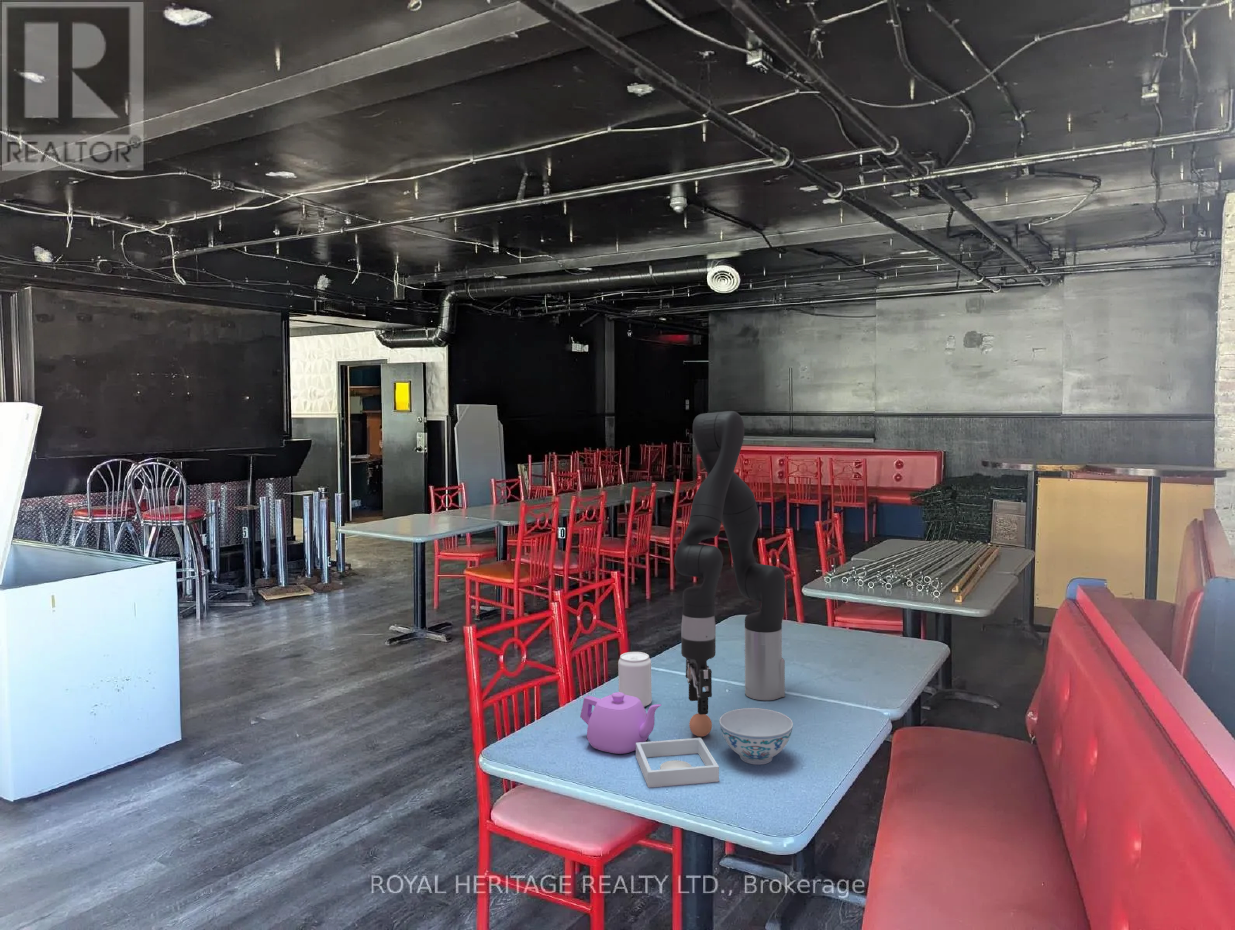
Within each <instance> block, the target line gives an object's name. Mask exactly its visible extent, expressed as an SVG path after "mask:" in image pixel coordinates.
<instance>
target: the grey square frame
mask: <svg viewBox="0 0 1235 930" xmlns="http://www.w3.org/2000/svg"><path fill="white" fill-rule="evenodd" d="M695 754H697V755H699V757H700V759H701V760H702V762H703V764H704V765H699V766H697V765H696V766H692V767H685V768H673V769H661V770H660V769H652V768H651V765H650V764H649V762H648V759H647V758H657V757H669V756H671V757H672V756H681V755H695ZM635 758H636V760H637V763H638V765H639V767H640V771H641V773H642V775H643V778H644V780H645V782H646V786H647V788H659V787H662V788H663V787H672V786H683V785H684V786H685V785H695V784H706V783H707V784H708V783H717V782H720V766H719V764H718V763H717V761H716V760H715V758H714V757H713V755H712V753H711V752H710V750H709V749H708V747H707V745H706V744H705V742H704V740H703V739H702V737H693V738H681V739H680V738H679V739H667V740H653V741H646V742H639V743H636V750H635Z"/></svg>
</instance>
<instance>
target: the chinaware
mask: <svg viewBox="0 0 1235 930" xmlns="http://www.w3.org/2000/svg"><path fill="white" fill-rule="evenodd" d="M718 722H719V727H720V731H721V734H722V736H723V739H724V740H725V742H726V744H727V745H728V746H729V748H730V749H731V750H732V751H734V752H735V753H736V754H737V755H739V758H740V760H741V761H743V762H744V763H746V764H749V765H750V764H751V765H765V764H768V763H769V764H770V762H772V761H773V757H775V756H777V755H778V754H780V752H782V751H783V750H784V748H785V747H786V745H787V744H788V742H789V740H790V738H791V736H792V732H793V728H794V722H793V720H792V719H791V718H790V717H789V716H787V715H786V714H784V713H782V712H779V711H776V710H773V709H766V708H758V707H745V708H743V707H742V708H738V709H733V710H729V711H727V712H725V713H723V714H722V715H721V716H720V718H719V720H718Z"/></svg>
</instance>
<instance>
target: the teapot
mask: <svg viewBox="0 0 1235 930" xmlns="http://www.w3.org/2000/svg"><path fill="white" fill-rule="evenodd" d="M593 706H594V707H593ZM661 706H662V704H660V703H659V704H652V705H650V706H649V708H648V710H646V709H645V707H644V706H643V704H642V703H641V701H640V699H638V698H637V697H633V696H629V695H625V694H624V693H621V692H619V691H618V692H617V691H616V692H612V694H609V695H605V696H603V697H602V698H599V697H595V696H592V695H588V694H587V695H586V696H585V697H584V698H583V701H582V706H581V707H582V708H581V712H580V719H582V720H583V721H584V722H585V724H586V725H587V728H586V739H587V741H588V742H589V744H590V746H592V748H593V749H596V750H599V751H601V752H606V753H609V754H610V753H611V754H617V755H618V754H619V755H622V754H629V753H631V752H634V751H636V743H639V742H647V739H648V738H649V736H650V735H651V734H652V733H653V731H654V728H655V721H656V720H655V715H656V711H657V710H658V708H660V707H661Z"/></svg>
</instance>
